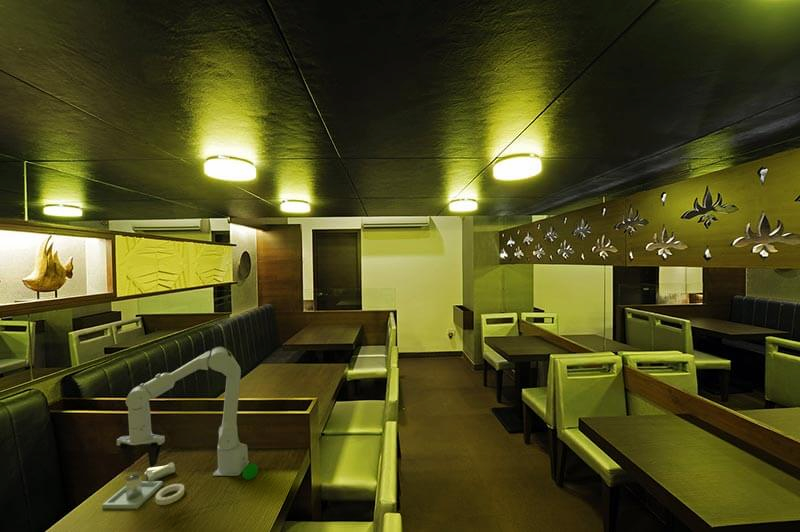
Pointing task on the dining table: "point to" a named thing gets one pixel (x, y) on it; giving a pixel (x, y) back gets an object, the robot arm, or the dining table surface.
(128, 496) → the metal cylinder
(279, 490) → the dining table surface
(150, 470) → the pipe fitting
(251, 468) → the polyhedron
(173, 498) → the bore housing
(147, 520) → the dining table surface
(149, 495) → the tray
